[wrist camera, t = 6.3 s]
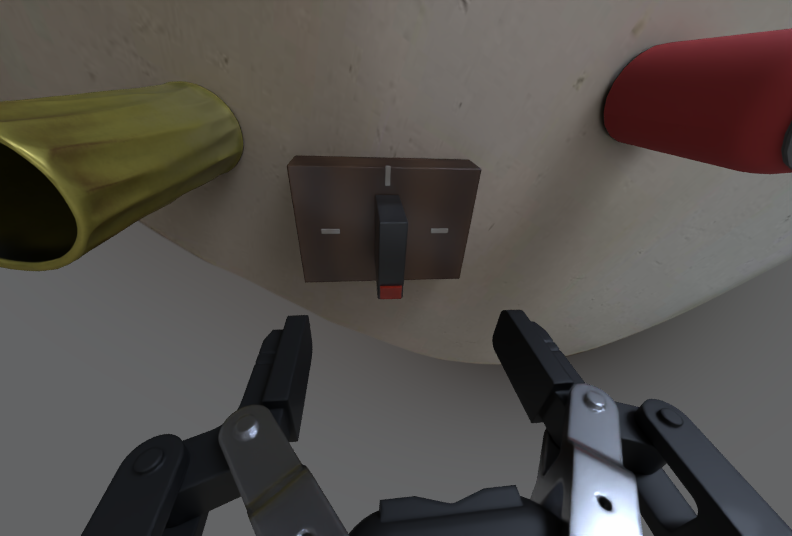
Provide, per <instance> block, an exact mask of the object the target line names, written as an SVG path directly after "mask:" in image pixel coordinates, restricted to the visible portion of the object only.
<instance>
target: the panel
mask: <svg viewBox="0 0 792 536" xmlns="http://www.w3.org/2000/svg"><path fill="white" fill-rule="evenodd" d="M287 170H288V176H289V183H290V189H291V195H292V202H293V208H294V214H295V221H296V227H297V234H298V240H299V246H300V253H301V259H302V265H303V272H304V278H305V282H340V281H376V271H375V196H376V195H399V197H400V200H401V203H402V206H403V209H404V212H405V215H406V218H407V220H408V234H407V247H406V259H405V272H404V280H420V279H459V278H460V273H461V268H462V263H463V258H464V253H465V248H466V243H467V238H468V233H469V228H470V223H471V218H472V213H473V208H474V204H475V199H476V194H477V189H478V184H479V179H480V174H481V168H479V167H478V166H477V165H475V164H474V163H473V162H471V161H470V160H461V159H418V158H376V157H333V156H294V157H293V159H292V160H291V161H290V162H289V163H288V165H287Z"/></svg>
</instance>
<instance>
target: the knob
mask: <svg viewBox="0 0 792 536" xmlns="http://www.w3.org/2000/svg"><path fill="white" fill-rule="evenodd" d="M407 234H408V220H407V218H406V215H405V212H404V209H403V206H402V203H401V200H400V197H399V195H376V196H375V271H376V283H377V295H378V299H401V298H402V297H403V285H404V272H405V259H406V247H407Z"/></svg>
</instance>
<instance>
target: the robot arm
mask: <svg viewBox="0 0 792 536" xmlns="http://www.w3.org/2000/svg"><path fill="white" fill-rule="evenodd" d="M492 342H493V347H494V350H495V352H496V354H497V356H498V358H499V360H500V362H501V364H502V366H503V368H504V370H505V372H506V374H507V376H508V378H509V380H510V382H511V384H512V386H513V388H514V390H515V392H516V393H517V395H518V397H519V399H520V401H521V403H522V405H523V407H524V409H525V411H526V413H527V415H528V417H529V419H530V421H531V423H540V422H544V424H545V426H546V430H545V432H544V436H543V444H542V450H541V456H540V464H539V470H538V476H537V481H536V485H535V487H534V490H533V492H532V495H531V499H527V498H524V497H522V496H520V495H519V492H518V490H517V487H516V485H511V486H502V487H493V488H485V489H482V490H480V491H478V492H476V493H474V494H472V495H470V496H468V497H466V498H464V499H462V500H460V501H458V502H456V503H445V502H440V501H435V500H431V499H426V498H421V497H416V496H413V497H404V498H395V499H385V500H380V505H379V511H377V512H374V513H372V514H370V515H369V516H368V517H366V518H364V519H363V520H362V521H361V522H360V523H359V524H357V525H356V526H355V527H354V528H353V530H352V531H351V532H350V533H349V534H348V532H347V531H346V529H345V527H344V526H343V524H342V522H341V521H340V519H339V517H338V516H337V514H336V513H335V511H334V509H333V508H332V506H331V505H330V503H329V501H328V499H327V498H326V496H325V495H324V493H323V491H322V490H321V488H320V486H319V485H318V483H317V481H316V480H315V478H314V477H313V475H312V473H311V472H310V471H309V469H308V468H307V467H306V466H305V465H303V464H302V463H301V462H300V460H299V458H298V457H297V455H296V453H295V452H294V450H293V449H292V447H291V445H290V443H289V442H296V441H298V438H299V432H300V426H301V420H302V414H303V407H304V401H305V395H306V389H307V383H308V377H309V370H310V365H311V359H312V338H311V330H310V323H309V317H308V315H299V316H288V317H287V319H286V322H285V326H284V329H283V330H272V332H271V333H270V334H269V335H268V336H267V337H266V338H265V339H264V341H263V343H262V346H261V349H260V352H259V355H258V357H257V360H256V365H255V366H254V368H253V371H252V374H251V377H250V380H249V382H248V385H247V388H246V390H245V393H244V396H243V399H242V401H241V404H240V406H239V408H238V410H237V411H235V412H234V413H232V414H231V415H230V416H229V417H228V418H227V419H226V421H225V422H224V423H223V424H222V425H221V426H219V427H217V428H215V429H213V430H211V431H208V432H206V433H203V434H200V435H197V436H194V437H192V438H189V439H186V440H183V441H182V440H181V439H180V438H179V437H178V436H176V435H172V434H164V435H159V436H156V437H153V438H151V439H149V440H147V441H145V442H144V443H142V444H141V445H139V446H138V447H136V448H135V449H134V450H133V451H132V452H131V453H130V454H129V455H128V456H127V457H126V458H125V459H124V461H123V462H122V463H121V465H120V467H119V469H118V470H117V472H116V474H115V476H114V478H113V479H112V481H111V483H110V484H109V486H108V488H107V490H106V492H105V494H104V495H103V497H102V499H101V501H100V502H99V504H98V506H97V508H96V510H95V511H94V513H93V515H92V517H91V519H90V521H89V522H88V524H87V526H86V528H85V529H84V531H83V533H82V535H81V536H202V533H203V530H204V526H205V523H206V520H207V516H208V512H209V511H210V510H213V509H214V508H217V507H219V506H221V505H223V504H225V503H228V502H230V501H232V500H234V499H236V498H239V497H242V499H243V502H244V504H245V507H246V509H247V514H248V517H249V519H250V522H251V525H252V527H253V529H254V532H255V534H256V536H642V527H641V518H640V513H641V515H642V517H643V518H644V520H645V522H646V523H647V525H648V526H649V528H650V530H651V531H652V533H653V535H654V536H792V530H791V529H790V528H789V526H788V525H787V524H786V523H785V522H784V521H783V520H782V519H781V518H780V517H779V516H778V514H777V513H776V512H775V511H774V510H773V509H772V508H771V507H770V506H769V505H768V504H767V503H766V501H765V500H764V499H763V498H762V497H761V496H760V495H759V494H758V493H757V492H756V491H755V490H754V488H753V487H752V486H751V485H750V484H749V483H748V482H747V481H746V480H745V479H744V478H743V477H742V476H741V474H740V473H739V472H738V471H737V470H736V469H735V468H734V467H733V466H732V465H731V464H730V463H729V461H728V460H727V459H726V458H725V457H724V456H723V455H722V454H721V453H720V452H719V451H718V449H717V448H716V447H715V446H714V445H713V444H712V443H711V442H710V441H709V440H708V439H707V438H706V436H705V435H703V433H702V432H701V431H700V430H699V429H698V428H697V427H696V426H695V425H694V424H693V422H692V421H691V420H690V419H689V418H688V417H687V416H686V415H685V414H684V413H682V412H681V411H680V410H679V409H677V408H676V407H674V406H672V405H670V404H668V403H666V402H664V401H661V400H657V399H648V400H646V401H645V402H644V403H643V404H642V405H641V406H640V407H636V406H632V405H627V404H623V403H619V402H615V401H613V399H612V398H611V397H610V396H609V395H608V394H606V393H605V392H604V391H603V390H601V389H599V388H598V387H596V386H593V385H590V384H586V383H585V382H584V381H583V380H582V378H581V377H580V376H579V374H578V373H577V372H576V370H575V369H574V368H573V366H572V365H571V364H570V362H569V361H568V360H567V358H566V357H565V356H564V354H563V353H562V352H561V351H559V348H558V346H557V345H556V344H555V342H553V340H552V338H551V337H550V336H549V334H548V333H547V332H546V330H544V329H543V328H542V327H541V326H539V325H538V324H537V323H535V322H531V321H530V320H529V318H528V317H527V316H526V314H525V313H524V312H523V311H522V310H503V311H502V312H501V314H500V316H499V319H498V322H497V325H496V328H495V331H494V334H493V339H492ZM666 463H667V464H668V465H669V466H670V468H671V469H672V470H673V472H674V473H675V474H676V476H677V477H678V478H679V480H680V481H681V482H682V484H683V485H684V486H685V488H686V489H687V490H688V492H689V493H690V494H691V495H692V497H693V498H694V500H695V502H696V504H697V507H698V515H696V514H695V512H694V511H693V509H692V508H691V507H690V505H689V504H688V503H687V502H686V500H685V499H684V497H683V496H682V494H681V493H680V492H679V490H678V489H677V488H676V486H675V485H674V484H673V482H672V481H671V480H670V478H669V477H668V476H667V474H666V473H665V471H664V470H663V469H662V467H663V466H664V465H665V464H666Z"/></svg>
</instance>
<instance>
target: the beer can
mask: <svg viewBox="0 0 792 536" xmlns="http://www.w3.org/2000/svg"><path fill="white" fill-rule="evenodd" d="M604 125H605V127H606V129H607V131H608V133H609V135H610V136H611V137H612V138H614V139H615V140H617V141H618V142H621V143H626V144H630V145H634V146H638V147H642V148H646V149H650V150H654V151H658V152H662V153H667V154H671V155H675V156H679V157H683V158H687V159H691V160H695V161H699V162H703V163H708V164H712V165H716V166H720V167H724V168H728V169H732V170H736V171H741V172H748V173H757V174H779V173H791V172H792V29H784V30H775V31H767V32H758V33H749V34H741V35H732V36H723V37H715V38H706V39H698V40H689V41H680V42H672V43H666V44H661V45H656V46H654V47H652V48H650V49H648V50H647V51H645V52H643V53H641V54H640V55H638V56H637V57H636V58H635V59H634V60H633V61H631V62H630V63H629V64H628V65H627V66H626V67H625V68H624V69H623V71H622V72H621V73H620V75H619V76H618V77H617V79H616V80H615V81H614V83H613V85H612V87H611V90H610V92H609V94H608V96H607V98H606V103H605V108H604Z"/></svg>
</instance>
